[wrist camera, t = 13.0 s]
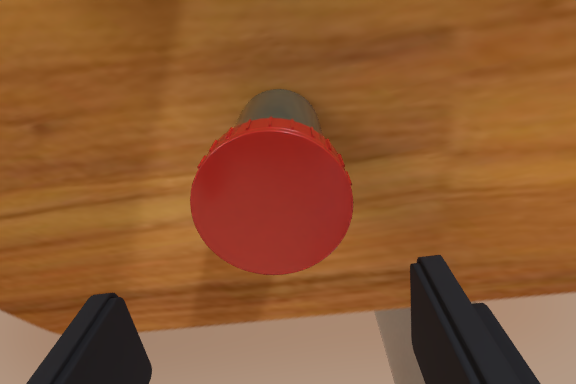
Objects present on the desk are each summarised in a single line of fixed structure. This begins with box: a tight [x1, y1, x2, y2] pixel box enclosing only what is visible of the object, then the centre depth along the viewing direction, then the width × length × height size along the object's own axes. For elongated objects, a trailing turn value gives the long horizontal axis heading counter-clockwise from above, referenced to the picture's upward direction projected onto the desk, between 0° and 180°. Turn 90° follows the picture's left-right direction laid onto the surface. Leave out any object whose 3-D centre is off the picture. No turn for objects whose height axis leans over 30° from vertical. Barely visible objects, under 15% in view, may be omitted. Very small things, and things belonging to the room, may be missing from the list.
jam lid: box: [190, 116, 353, 275], centre depth 16 cm, size 7×7×2 cm
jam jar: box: [234, 89, 323, 136], centre depth 21 cm, size 6×6×11 cm
